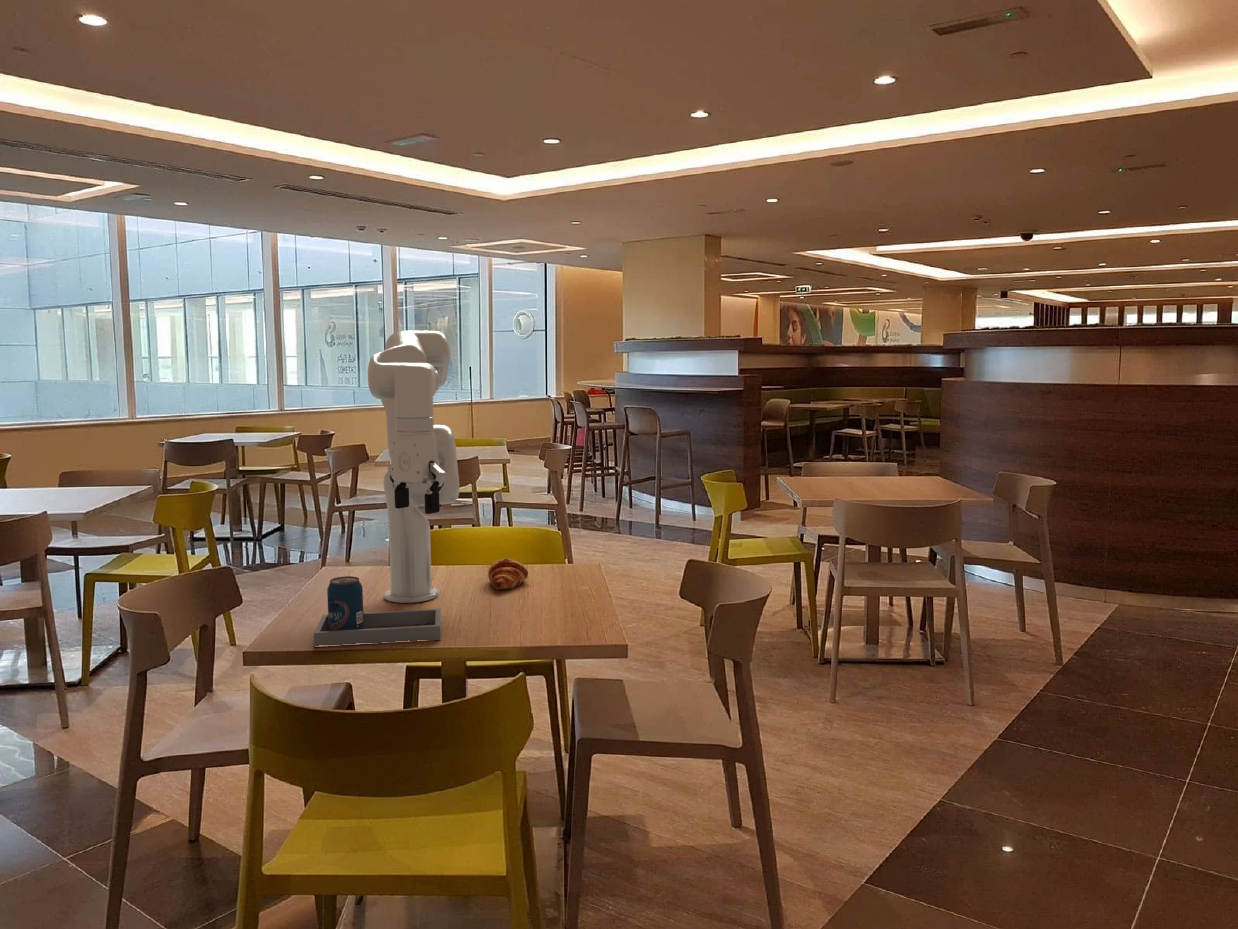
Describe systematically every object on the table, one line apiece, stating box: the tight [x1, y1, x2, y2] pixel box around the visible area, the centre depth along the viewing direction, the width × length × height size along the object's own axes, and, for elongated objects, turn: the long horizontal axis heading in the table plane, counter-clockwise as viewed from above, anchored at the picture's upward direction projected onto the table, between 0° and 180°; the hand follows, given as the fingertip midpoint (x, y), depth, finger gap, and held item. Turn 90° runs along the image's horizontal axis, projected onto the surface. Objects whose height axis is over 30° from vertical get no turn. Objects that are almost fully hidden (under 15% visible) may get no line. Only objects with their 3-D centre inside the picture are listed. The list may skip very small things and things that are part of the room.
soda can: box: [326, 575, 365, 631], centre depth 183 cm, size 7×7×12 cm
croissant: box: [487, 558, 529, 591], centre depth 227 cm, size 21×10×8 cm, turn 177°
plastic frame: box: [313, 608, 442, 647], centre depth 185 cm, size 13×24×3 cm, turn 101°
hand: (417, 510), depth 181 cm, fingers open, 9 cm apart
